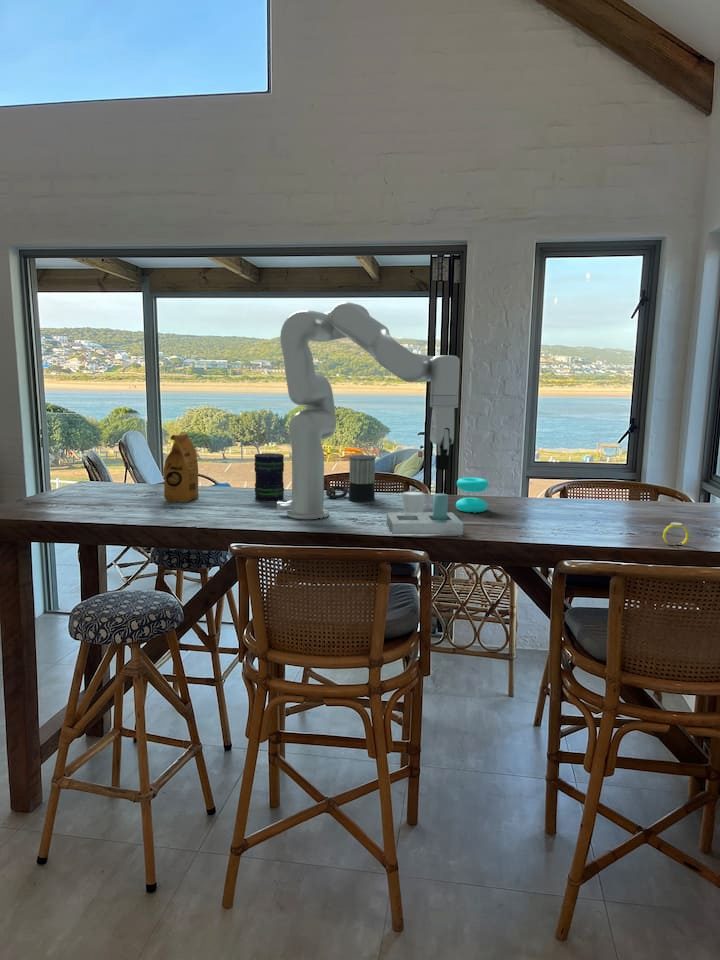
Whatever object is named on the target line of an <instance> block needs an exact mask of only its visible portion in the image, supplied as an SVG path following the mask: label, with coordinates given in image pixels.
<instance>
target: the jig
mask: <svg viewBox="0 0 720 960" xmlns="http://www.w3.org/2000/svg"><path fill="white" fill-rule="evenodd" d="M387 525H388V526H387ZM386 526H387V528H388V527H389V528H388V530H389V529H390V531H391V532H392V534H460V535H463V536H464V522H463V521H462V520H461V519H459V517H457V515H455V513H454V512H451V511H450V512H448V511H447V520H433V511H432V512H431V511H429V512H428V511H427V512H424V511H423V512H404V511H403V512H396V511H395V512H393V511H392V512H386ZM390 531H389V532H390Z"/></svg>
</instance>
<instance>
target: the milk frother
mask: <svg viewBox="0 0 720 960" xmlns="http://www.w3.org/2000/svg"><path fill="white" fill-rule="evenodd" d="M348 458H349V474H348V475H349V482H348V483H349V486H348V487H349V488H348V489H347V488H346V487H344V486H342V485H333V486H331V487H329V488H327V489H326V490H325V491H326V492H325V494H326V496H327V497H329V498H330V499H331V498H332V499H343V498H345V497H346V496H347V495H348V498H347V499H348V500H349V501H350V502H355V503H356V502H357V503H370V502H373V501H374V502H375V500H376V498H375V495H376V493H375V476H376V473H375V472H376V471H375V468H376V467H375V466H376V458H377V457H376V456H374V455H366V454H365V455H363V454H362V455H361V454H360V455H359V454H357V455H349V456H348ZM337 490H339V491H342V492H343V493H341V494H336V491H337Z"/></svg>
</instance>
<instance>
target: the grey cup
mask: <svg viewBox="0 0 720 960" xmlns="http://www.w3.org/2000/svg"><path fill="white" fill-rule="evenodd" d="M401 495H402V504H403V505H402V507H403V512H424V506H425V498H426V497H425V496H426V493H425V492H422V491H415V490H411V491H404V492H402V494H401Z"/></svg>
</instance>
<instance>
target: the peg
mask: <svg viewBox="0 0 720 960" xmlns="http://www.w3.org/2000/svg"><path fill="white" fill-rule="evenodd" d="M448 501H449V495H448V494H447V493H441V492H440V493H433V497H432V502H433V503H432V512H433V520H447V512H448V508H449V507H448V504H449V502H448Z"/></svg>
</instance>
